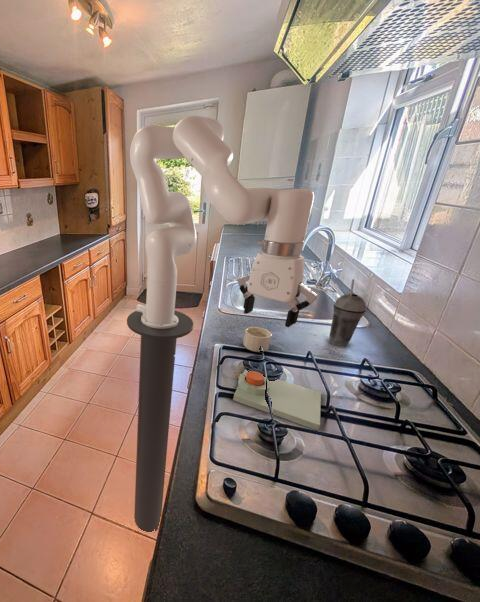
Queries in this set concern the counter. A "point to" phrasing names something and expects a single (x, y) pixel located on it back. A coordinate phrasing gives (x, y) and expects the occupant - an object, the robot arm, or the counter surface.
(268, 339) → the bowl
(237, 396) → the scale
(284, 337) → the counter surface
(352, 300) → the beverage cup
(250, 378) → the button
